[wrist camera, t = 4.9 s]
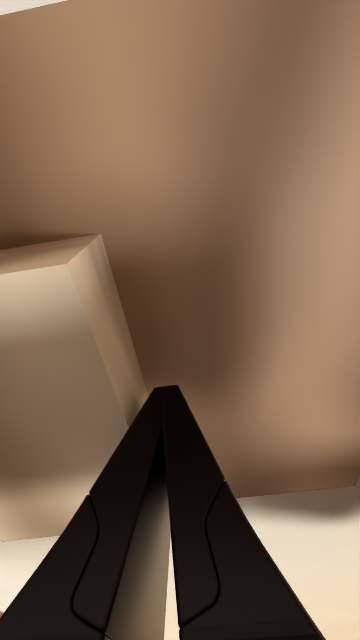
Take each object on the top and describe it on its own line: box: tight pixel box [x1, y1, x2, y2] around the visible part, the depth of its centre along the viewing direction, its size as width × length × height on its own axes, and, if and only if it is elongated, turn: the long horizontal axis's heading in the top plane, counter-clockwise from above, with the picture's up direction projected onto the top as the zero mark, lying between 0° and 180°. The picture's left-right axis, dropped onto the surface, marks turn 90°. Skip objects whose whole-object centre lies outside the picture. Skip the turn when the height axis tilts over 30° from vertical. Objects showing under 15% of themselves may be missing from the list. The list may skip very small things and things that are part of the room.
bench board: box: [0, 0, 360, 498], centre depth 10 cm, size 24×18×2 cm
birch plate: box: [0, 234, 148, 541], centre depth 8 cm, size 7×10×2 cm
